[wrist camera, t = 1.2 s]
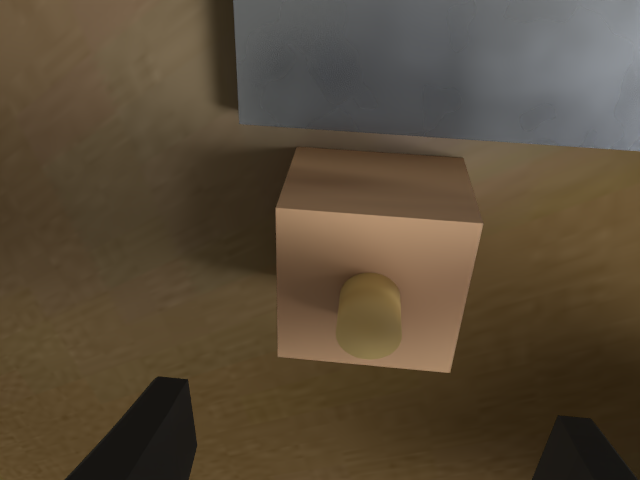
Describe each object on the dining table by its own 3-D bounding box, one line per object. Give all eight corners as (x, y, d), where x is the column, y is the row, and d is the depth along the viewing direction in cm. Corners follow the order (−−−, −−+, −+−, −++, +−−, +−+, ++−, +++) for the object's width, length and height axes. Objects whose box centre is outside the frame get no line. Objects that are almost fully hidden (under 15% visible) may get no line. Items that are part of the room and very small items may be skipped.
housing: (438, 288, 19) (455, 414, 14) (296, 276, 19) (268, 396, 15) (462, 156, 16) (494, 259, 12) (297, 144, 17) (264, 240, 12)
